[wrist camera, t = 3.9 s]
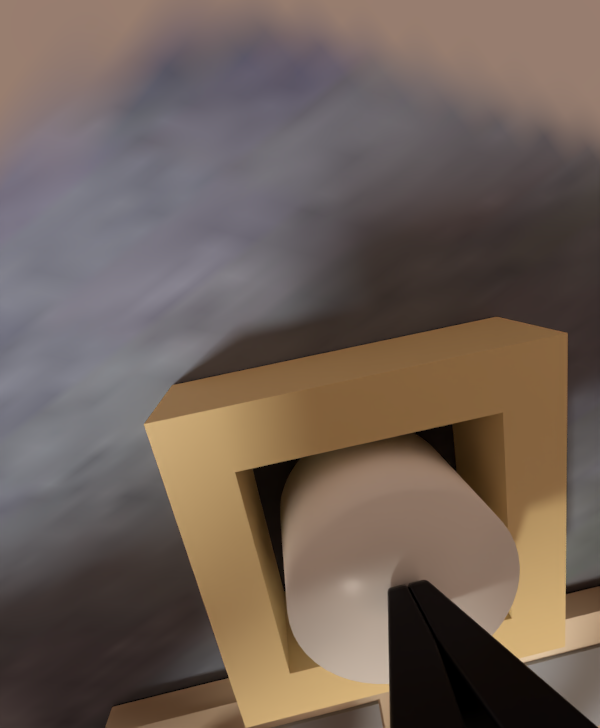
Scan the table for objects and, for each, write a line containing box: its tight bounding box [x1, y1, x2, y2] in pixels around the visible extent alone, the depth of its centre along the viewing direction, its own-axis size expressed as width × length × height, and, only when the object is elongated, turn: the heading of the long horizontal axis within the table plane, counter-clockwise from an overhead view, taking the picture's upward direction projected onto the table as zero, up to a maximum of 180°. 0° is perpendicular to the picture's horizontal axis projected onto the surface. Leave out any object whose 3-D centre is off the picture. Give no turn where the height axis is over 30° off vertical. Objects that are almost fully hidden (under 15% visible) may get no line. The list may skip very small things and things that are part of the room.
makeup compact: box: [105, 586, 600, 728], centre depth 14 cm, size 18×7×1 cm, turn 101°
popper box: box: [144, 317, 568, 728], centre depth 10 cm, size 9×9×2 cm
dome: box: [280, 433, 520, 684], centre depth 9 cm, size 5×5×3 cm
